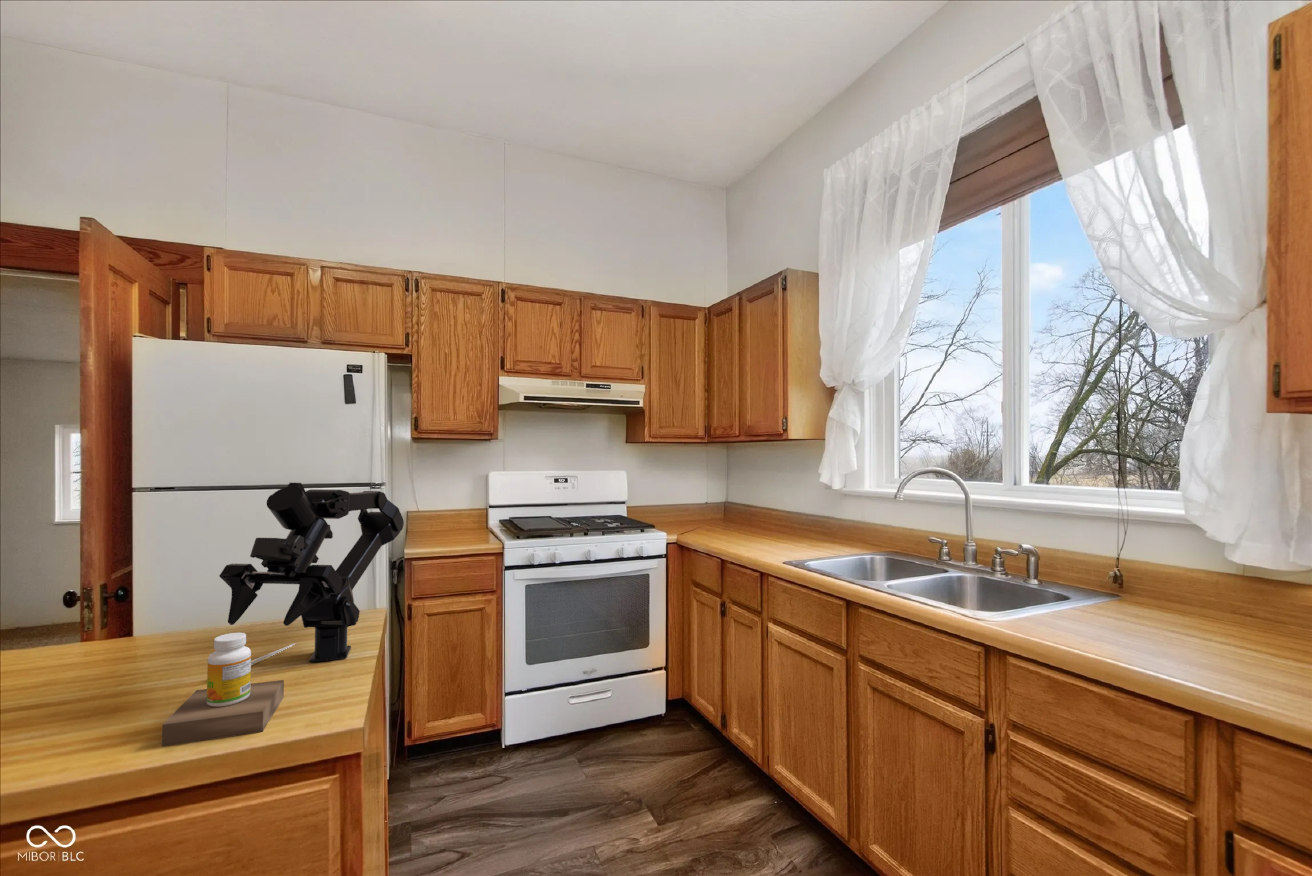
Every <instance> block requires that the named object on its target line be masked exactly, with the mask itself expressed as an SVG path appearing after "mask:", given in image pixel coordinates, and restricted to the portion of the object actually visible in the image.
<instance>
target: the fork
mask: <svg viewBox="0 0 1312 876" xmlns="http://www.w3.org/2000/svg"><path fill="white" fill-rule="evenodd" d="M295 644H296V643H292V644H290V645H286V646H285V647H282V648H280V649H277V650H274V651H272V652H269V653H267V654H264V655H262V656H259V657H256V658H255V659H251V665H252V666H254V665H256V664H255V663H256V662H259V661H261V660H263V659H265V658H267V657H270V656H272V657H273V655H274V656H276V655H277V654H276V653H278V654H279V652H280V653H282V652H284V651H286V650H287V648H288V649H289V647H290V648H291V647H293V645H294V646H295ZM285 649H286V650H285ZM283 650H284V651H283ZM281 651H282V652H281ZM275 654H276V655H275ZM270 658H271V657H270ZM263 661H264V660H263ZM261 662H262V661H261ZM259 663H260V662H259ZM253 664H254V665H253Z"/></svg>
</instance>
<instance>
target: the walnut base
mask: <svg viewBox="0 0 1312 876" xmlns="http://www.w3.org/2000/svg"><path fill="white" fill-rule="evenodd" d="M284 686H285V680H284V679H280V680H271V681H264V682H254V683H251V686H250V695H249V697H248V698H246V699H245V700H243V701H241V702H238V703H236V704H232V705H228V706H222V707H213V706H209V705H208V704H207V688H202V689H196V690H195V691H194V692H193V693H191V695H190V696H189V697H188V698H187V699H186V700H185V701H184V702H183V703H182V704H181V705H180V706H179V707H178V708H177V709H176V710H175V711H174V712H173V713H172V714H171V715H170V716H169V717H168V718H167V719H166V720H165V721H164V722H163V723H162V724H161V747H166V746H173V745H180V744H186V743H194V742H200V741H207V740H214V739H222V738H227V737H235V736H242V735H248V734H257V733H263V732H264V730H265V729H266V727H267V725H268V724H269V722H270V721H271V719H272V717H273V716H274V714H275V713H276V711H277V709H278V708H279V706H280V704H281V703H282V701H283V699H284V691H285V689H284V688H285V687H284ZM267 723H268V724H267Z"/></svg>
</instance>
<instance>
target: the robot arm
mask: <svg viewBox="0 0 1312 876" xmlns="http://www.w3.org/2000/svg"><path fill="white" fill-rule="evenodd" d="M266 507H267V508H268V510H269V511H270V512H271V514H272V515H273V516H274V517H275V519H276V521H277V522H278V523H279V524H280V526H281V527H282V528H284V529H285V530H290V531H289V533H288V534H287V536H286V538H280V537H256V538H255V540H254V543H253V546H252V548H251V549H252V550H251V551H250V555H249V557H250V558H251V559H252V558H256V559H258V560H261V561H262V562H261V563H260V565H262V567H263V568H267V570H266V571H258V570H257V569H256V568H255V567H254V565H252V563H230V564H226V565H225V566H224V568H223V569H222V571H221V572H220V574H219V575H218V576H219V578H220V579H221V580H222V581H223V582H224V583H225V584H226V585H227V586H229V588H230V589H231V598H230V607H229V613H228V618H227V623H228V624H229V625H230V626H233V625H235V624H236V623H237V622H238V621H239V619H240V618H241V617H242V616H243V615H244V613H245V612H246V611H247V609H248V608H249V607H250V606H251V604H252V603H253V602H254V601H255V600H256V598H257V597H258V596H259V595H258V593H257V592H259V590H261V588H262V587H263V584H266V585H269V584H274V585H276V584H277V585H278V584H279V585H298V590H297V591H298V592H297V593H296V595H295V597H294V598H293V600H292V603H291V605H289V609H288V610H287V612H286V615H285V617H284V619H283V622H282V624H283V625H284V626H286V627H287V626H290V625H291V624H292V623H294V622H295V621H296V620H297V619H299V618H300V617H301V621H302V625H303V628H305V629H306V628H314V650H313V653H312V655H310V658H309V660H308V661H309V663H315V662H324V661H325V662H326V661H332V660H333V661H334V660H342V659H347V658H348V656H349V654H350V651H351V648H352V646H351V645H348V628H349V627H353V626H356V625H357V623H358V622H359V618H360V613H361V612H360V609H359V608H358V606H357V605H356V604H355V603H354V602H355V600H354V593H353V591H354V588H355V587H356V585H357V584H358V582H359V580H360V579H361V578H362V576H363V575H364V573H365V572H366V570H367V569H368V567H369V566H370V564H371V563H372V561H373V559H374V558H375V556H376V555H377V553H378V552H379V550H380V549H381V548H382V546H384V545H386V544H389V543H391V542H393V541H395V539H396V538H397V537H398V536H399V535H400V533H401V531H402V530H403V529H404V526H405V525H404V524H405V523H404V521H405V520H404V518H403V516H402V513H401V510H400V508H399V507H398V506H396V505H395V503H393V502H391V501H390V500H389V499H388V498H387V496H386V493H385V492H382V491H380V490H373V491H372V490H364V491H360V492H349V491H348V490H347V491H346V490H342V489H317V488H316V489H312V488H311V489H308V490H305V487H304V486H303V484H302V482H289V483H288V485H287V486H285V487H283V488H280V489H279V490H277V491H275V492H273V493H272V494H270V495H269V496H268V498H267V500H266ZM370 509H374V510H375V509H378V510H379V511H368V510H370ZM354 511H360V512H359V514H358V517H357V520H358V522H359V525H360V526H359V527H360V529H361V531H360V532H361V535H360V537H359V538H358V539H357V541H356V542H355V543H354V545H353V546H352V548H351V549H350V550H349V551H348V553H347V554H346V555H345V557H344V559H343V560H342V561H341V563H340V564H339V566H338V567H337V568H336V569H335V568H334V566H333V565H331V564H317V563H318V562H319V559H320V558H319V557H318V556H317V553H318V551H319V549H320V548H321V547H322V544H323V542H324V540H327V539H328V540H329V539H331V540H332V539H333V537H334V536H333V535H334V534H333V533H334V532H333V531H332V529H331V524H328V522H327V521H326V520H339V519H341V518H344V517H345V516H346V517H347V516H348V515H349V513H350V512H354Z"/></svg>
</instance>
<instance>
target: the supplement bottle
mask: <svg viewBox="0 0 1312 876" xmlns="http://www.w3.org/2000/svg"><path fill="white" fill-rule="evenodd" d="M246 644H247V634H246V633H245V632H229V633H225V634H221V635H219V636H217V637H215V638H214V639H213V649H214V650H215V651H213V652H212V653H211V654H209V655H208V658H207V672H206V673H207V678H206V689H207V704H208V705H209V706H213V707H222V706H228V705H232V704H236V703H238V702H241V701H243V700H245V699H246V698H248V697H249V695H250V686H251V684H252V683H251V677H252V676H251V675H252V674H251V673H252V666H251V661H252V650H251V649H250V648H249V647H248V646H245V645H246Z"/></svg>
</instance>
